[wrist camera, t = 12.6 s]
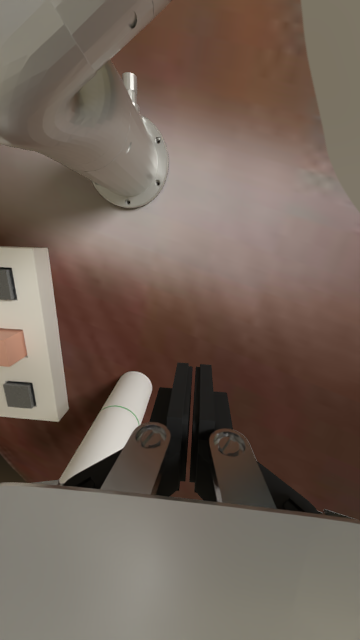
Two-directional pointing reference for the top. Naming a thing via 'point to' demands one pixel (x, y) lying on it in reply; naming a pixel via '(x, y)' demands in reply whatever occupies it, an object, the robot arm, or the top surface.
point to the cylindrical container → (112, 423)
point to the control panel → (33, 335)
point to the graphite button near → (7, 284)
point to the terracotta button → (11, 346)
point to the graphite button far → (19, 394)
